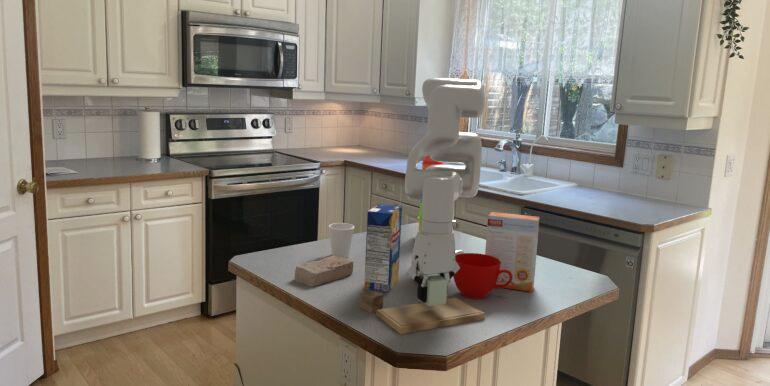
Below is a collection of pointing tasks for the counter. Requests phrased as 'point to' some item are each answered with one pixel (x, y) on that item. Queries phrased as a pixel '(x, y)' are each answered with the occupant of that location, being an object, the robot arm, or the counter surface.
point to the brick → (323, 270)
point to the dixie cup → (341, 239)
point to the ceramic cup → (478, 274)
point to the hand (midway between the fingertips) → (431, 298)
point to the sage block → (436, 290)
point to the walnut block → (371, 301)
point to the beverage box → (382, 247)
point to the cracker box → (513, 247)
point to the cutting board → (429, 315)
